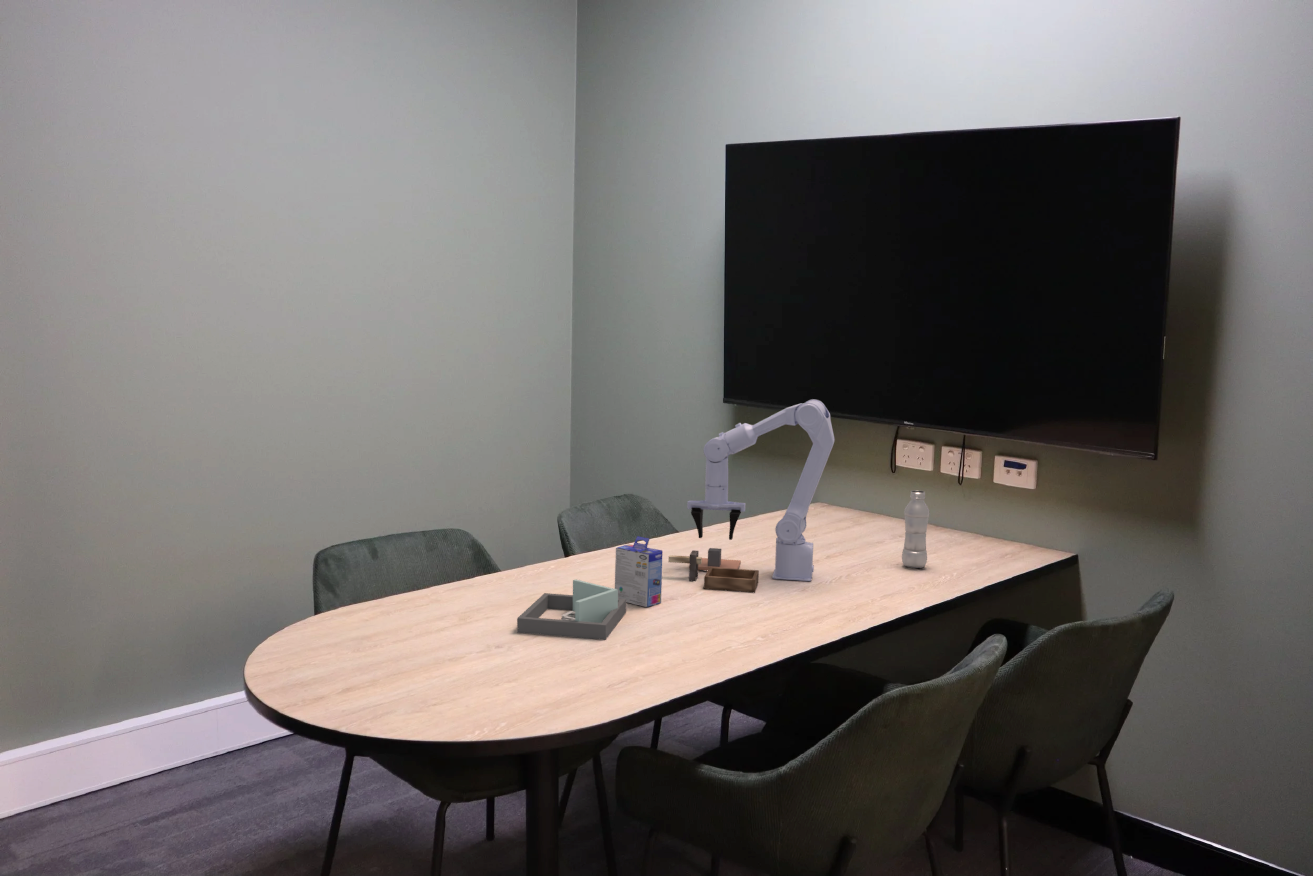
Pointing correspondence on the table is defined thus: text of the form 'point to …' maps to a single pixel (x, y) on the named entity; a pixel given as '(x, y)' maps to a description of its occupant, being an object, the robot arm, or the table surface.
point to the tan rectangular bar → (683, 559)
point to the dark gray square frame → (567, 628)
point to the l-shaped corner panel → (591, 602)
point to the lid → (717, 561)
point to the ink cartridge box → (639, 573)
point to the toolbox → (725, 577)
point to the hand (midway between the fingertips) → (715, 538)
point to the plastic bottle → (915, 531)
